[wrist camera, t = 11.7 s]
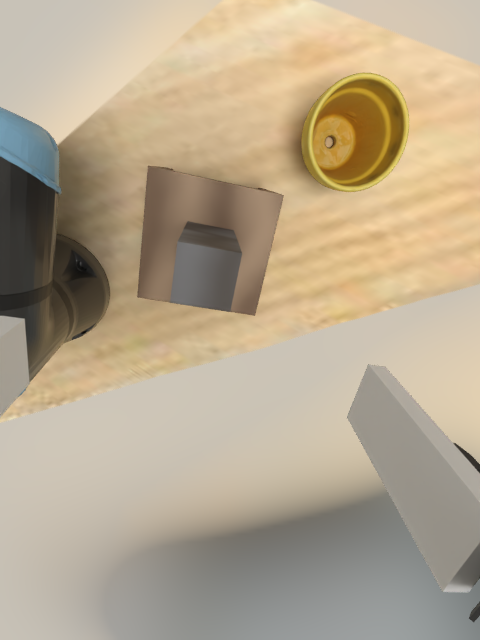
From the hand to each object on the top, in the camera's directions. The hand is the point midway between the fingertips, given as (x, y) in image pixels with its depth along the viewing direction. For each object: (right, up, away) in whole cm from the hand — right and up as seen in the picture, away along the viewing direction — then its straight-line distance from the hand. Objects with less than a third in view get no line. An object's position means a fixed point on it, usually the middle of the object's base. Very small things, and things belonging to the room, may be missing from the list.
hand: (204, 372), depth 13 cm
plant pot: (+12, +24, +29) cm, 40 cm away
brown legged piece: (-3, +14, +31) cm, 34 cm away
